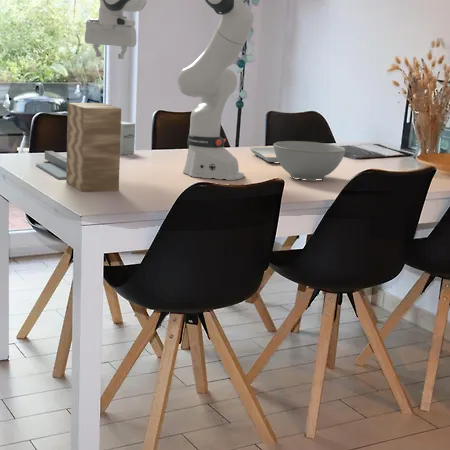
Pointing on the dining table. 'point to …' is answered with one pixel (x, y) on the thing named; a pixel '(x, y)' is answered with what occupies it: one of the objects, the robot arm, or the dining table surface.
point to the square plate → (264, 150)
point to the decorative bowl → (308, 158)
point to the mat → (53, 170)
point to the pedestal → (93, 146)
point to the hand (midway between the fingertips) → (109, 57)
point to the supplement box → (127, 138)
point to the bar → (56, 159)
